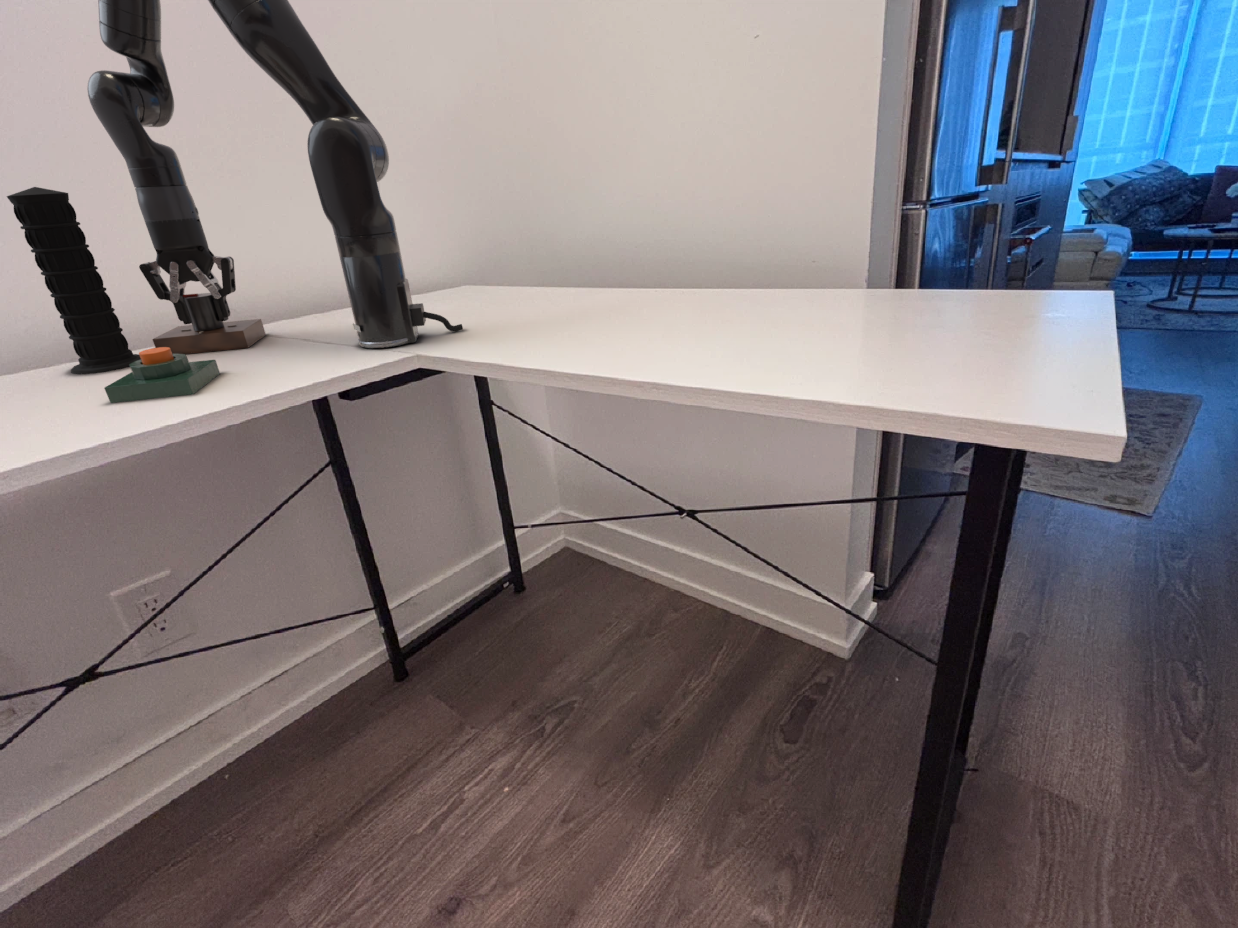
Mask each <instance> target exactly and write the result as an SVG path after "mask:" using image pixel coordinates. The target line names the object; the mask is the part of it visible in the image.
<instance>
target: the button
mask: <svg viewBox="0 0 1238 928" xmlns="http://www.w3.org/2000/svg"><path fill="white" fill-rule="evenodd" d="M138 354H139V355H140V358H141V360H142V363H143V365H148V364H157V363H162V362H167V361H170V360H173V359H174V357H173V355H172V352H171V349H170V348H169V347H159V348H155V347H153V348H148V349H144V350H141V351H139V352H138Z"/></svg>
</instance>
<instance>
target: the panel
mask: <svg viewBox="0 0 1238 928" xmlns="http://www.w3.org/2000/svg"><path fill="white" fill-rule="evenodd" d="M223 323H224V327H222V328H218V329H214V330H208V331H194V329H193V326H192V324H186V325H178V326H176V327H173V328H172V329H169V330H168V331H166V332H164V333H162V334H160V335H158V336H156V337H154V338H152V343H153V345H154V348H159V347H169V348H170V349H171V352H172V354H185V355H192V354H201V353H212V352H221V351H233V350H243V349H249V348H251V347H252V346H253V345H254V344H256V343H257V342H259V341H260V340H261V339H262V338H264V337H265V336H266V335H267V334H266V331H265V327H264V324H263V320H262V318H256V319H255V318H254V319H243V320H233V321H223Z"/></svg>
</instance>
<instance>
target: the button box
mask: <svg viewBox="0 0 1238 928" xmlns="http://www.w3.org/2000/svg"><path fill="white" fill-rule="evenodd" d="M172 355H173V357H174V359H173V360H170V361H167V362H162V363H157V364H148V365H143V363H142V360H137V361H135V362H133V363H131V364H129V366H130V367H129V368H130V370H131V372H129V373H128V374H125V375H124V376H122V377H120V378H119V379H117V380H115V381H114V382H113V381H112V383H110V384H107V386H104V388H103V389H104V391H105V393H106V396H107V398H108V400H109V403H110V404H117V403H126V402H134V401H136V402H137V401H144V400H145V401H146V400H153V399H163V398H164V399H165V398H172V397H173V398H174V397H181V396H190V395H195V394H196V393H197V392H198V391H200V390H201V389H202V388H203V387H205V386H207V384H209V383H210V382H211V381H213V380H214V379H215V378H216V377H218V376H219V375H220V374H221V372H220V369H219V366H218V363H217V360H216V359H206V360H197V361H189V359H188V356H187V354H172Z"/></svg>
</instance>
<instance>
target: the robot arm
mask: <svg viewBox="0 0 1238 928" xmlns="http://www.w3.org/2000/svg"><path fill="white" fill-rule="evenodd" d="M97 2H98V3H97V4H98V27H99V29H98V30H99V36H100V39H101V41H102V43H103V45H104V46H105V47H107V48H108V49H109V50H110V51H112V52H113V53H115V54H118V55H120V56H122V57H125V58H126V62H127V63H128V67H129V71H130V72H121V71H114V70H105V69H104V70H103V69H102V70H96V71H95V72H93V73H92V74H91V75H90V77H89V78H88V81H87V97H88V101H89V104H90V105H91V108H92V111H93V112H94V114H95V115H96V117H97V119H98V121H99V122H100V123H101V125H102V127H103V128H104V130H105V131H106V134H108V136H109V138H110V139H111V141H112V142H113V144H114V145H115V147H116V149H117V150H118V151H119V153H120V155H121V156H122V157H123V159H124V161H125V164H126V167H127V169H128V172H129V176H130V179H131V181H132V184H133V187H134V190H135V194H136V199H137V203H138V207H139V210H140V212H141V215H142V218H143V221H144V224H145V226H146V229H147V231H148V234H149V238H150V240H151V243H152V246H153V249H154V250H155V252H156V258H155V260H154V261H148V262H144V263H141V264H139V267H138V268H139V271H141V273H142V275H143V276H144V279H145V280H146V281H147V283H148V284H149V286H150V288H151V290H152V291H153V292H154V294H155V296H156V298H158V300H161V301H162V300H165V301H169V302H171V303H172V305H173V307H174V310H175V313H176V315H177V318H178V320H179V321H180V322H182V323H183V324H184V325H192V323H191V320H190V317H189V315H188V312H187V309H186V306H185V303H184V300H183V295H185V292H186V291H185V289H186V286H187V283H188V282H200V283H201V285H202V286H203V287H204V288H205V289H206V290H208V293H211V294H212V296H213V297H214V298H215V299H214V300H213V301H214V304H215V307H216V310H217V313H218V317H219V319H220V321H223V322H227V321H228V320H229V317H231V310H230V307H229V303H228V301H227V300H228V299H227V296H228V295H230V294H233V293H234V292H236V290H237V287H236V273H235V261H234V258H233V257H232V256H218V255H214V253H213V252H212V251H211V250H210V248H209V244H208V240H207V237H206V234H205V232H204V227H203V225H202V221H201V218H200V216H199V214H200V213H199V209H198V208H197V206H196V204H195V200H194V198H193V195H192V194H191V191H190V189H189V187H188V185H187V180H186V178H185V174H184V171H183V168H182V166H181V163H180V162H181V161H180V159H179V156H178V155H177V152H176V151H175V150H174V149H173V148H172V147H171V146H168V145H166V144H162V143H159V142H158V141H157V142H156V141H155V140H153V139H152V138H151V136H150V135H149V134H148V132H147V131H146V129H145V128H162V127H165V126H166V125H168V124H169V123H170V122H171V120H172V118H173V116H174V112H175V99H174V93H173V90H172V86H171V82H170V79H169V75H168V71H167V67H166V63H165V60H164V57H163V53H162V7H161V6H162V5H161V4H162V3H161V0H97ZM207 2H208V3H209V4H210V6H211V7H212V9H213V11H214V12H215V13H216V15H217V17H218V18H219V19H220V21H221V22H222V23H223V25H224V26H225V28H226V29H227V30H228V32H229V33H230V35H231V36H232V37H233V39H234V40H235V41H236V43H237V44H238V45H239V46H240V48H241V49H242V50H243V51H244V52H245V54H246V55H247V56H248V57H249V58H250V59H251V60H252V62H254V63H255V64H256V65H257V66H258V67H259V68H260V69H261V71H263V72H264V73H265V74H266V75H267V76H268V77H269V78H271V80H273V81H274V82H275V83H276V84H277V85H278V86H279V87H281V89H282V90H284V91H285V92H286V93H287V94H288V95H289V96H290V98H292V99H293V101H294V102H295V103H296V104H297V105H298V106H299V107H300V109H301V110H302V112H303V113H304V115H305V116H306V117H307V118H308V120H309V121H310V123H311V125H312V126H311V127H310V130H309V132H308V136H307V142H306V143H307V145H306V146H307V147H306V148H307V155H308V161H309V166H310V169H311V173H312V177H313V180H314V181H313V182H314V184H315V188H316V192H317V195H318V199H319V202H320V205H321V208H322V211H323V213H324V215H325V217H326V220H328V222H329V224H330V225H331V228H332V231H333V236H334V240H335V244H336V248H337V252H338V256H339V261H340V265H341V269H342V273H343V278H344V282H345V285H346V291H347V295H348V299H349V305H350V308H351V311H352V317H353V320H354V323H352V327H353V330H355V331H356V334H357V337H358V344H359V346H360V347H362V348H366V349H385V348H391V347H398V346H403V345H407V344H413V343H416V342H417V340H418V337H419V330H418V329H419V328H418V327H423V326H425V325H426V321H427V319H428V320H434V321H437V322H440V323H442V324H443V325H444V327H445V328H446V329H447V330H448V331H449V332H452V333H453V332H460V331H463V330H464V329H463V328H464V326H463V324H462V323H459V324H456V325H452V324H451V323H450V321H449V320H448V319H447V318H446V317H444V316H442V315H440V314H437V313H432V312H428V311H425V307H424V303H423V302H422V303H413V299H412V294H411V288H410V283H409V279H408V278H406V274H405V273H406V272H405V269H404V264H403V263H404V261H403V258H402V253H401V248H400V243H399V237H398V232H397V226H396V222H395V221H396V220H395V218H394V215H393V213H392V212H391V211H390V210H389V209H388V208H387V207H386V205H385V204H384V202H383V199H382V197H381V194H380V189H379V185H378V183H379V182H380V181H382V180H383V179H384V178H385V177H386V175H387V172H388V170H389V165H390V156H389V155H390V154H389V151H388V146H387V144H386V142H385V140H384V138H383V136H382V135H381V132H379V130H378V129H377V127H376V126H375V125H374V124H373V122H371V120H370V119H369V118H368V116H367V115H366V113H364V110H362V109H361V108H360V106H359V105H358V104H357V102H356V101H355V100H354V98H353V97H352V95H350V94H349V92H348V91H347V90H346V88H345V87H344V86H343V84H342V82H340V80H339V79H338V78H337V76H336V74H335V73H334V71H333V70H332V68H331V67H330V65H329V64H328V62H327V60H326V58H325V56H324V55H323V53H322V52H321V50H320V49H319V47H318V45H317V44H316V42H315V41H314V38H313V37H312V36H311V35H310V33H309V32H308V30H307V29H306V27H305V25H304V24H303V23H302V21H301V19H300V17H299V16H298V15H297V12H296V10H295V9H294V7H293V6H292V4H291V3H290V1H289V0H207ZM214 265H216V266H217V268H218V270H220V271H221V272H220V273H221V281H222V283H221V284H220V283H219V280H218V277H217V276H216V275H215V274H214V273H213V272H212V269H213V268H214ZM161 269H162V270H163V271H164V272H165V273H166V274H168V275H169V282H168V283H169V285H167V284H166V283H165V281H164V279H163V277H162V276H161V272H162V271H161ZM221 285H222V286H221Z"/></svg>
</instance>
